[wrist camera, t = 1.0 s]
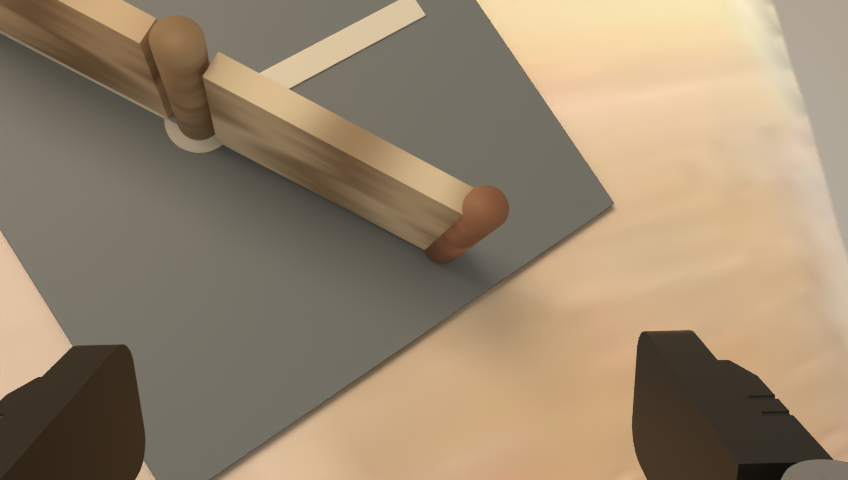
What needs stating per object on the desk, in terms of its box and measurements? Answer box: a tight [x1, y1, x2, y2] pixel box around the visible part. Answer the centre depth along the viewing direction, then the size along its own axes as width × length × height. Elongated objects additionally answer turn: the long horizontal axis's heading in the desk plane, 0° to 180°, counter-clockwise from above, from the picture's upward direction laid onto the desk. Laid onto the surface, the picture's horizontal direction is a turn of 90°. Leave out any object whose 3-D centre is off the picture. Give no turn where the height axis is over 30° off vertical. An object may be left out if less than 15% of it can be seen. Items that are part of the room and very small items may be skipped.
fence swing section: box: [203, 52, 509, 264], centre depth 32 cm, size 13×2×8 cm, turn 64°
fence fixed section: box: [0, 0, 215, 140], centre depth 31 cm, size 14×2×9 cm, turn 64°
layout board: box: [0, 0, 614, 480], centre depth 37 cm, size 26×27×1 cm
